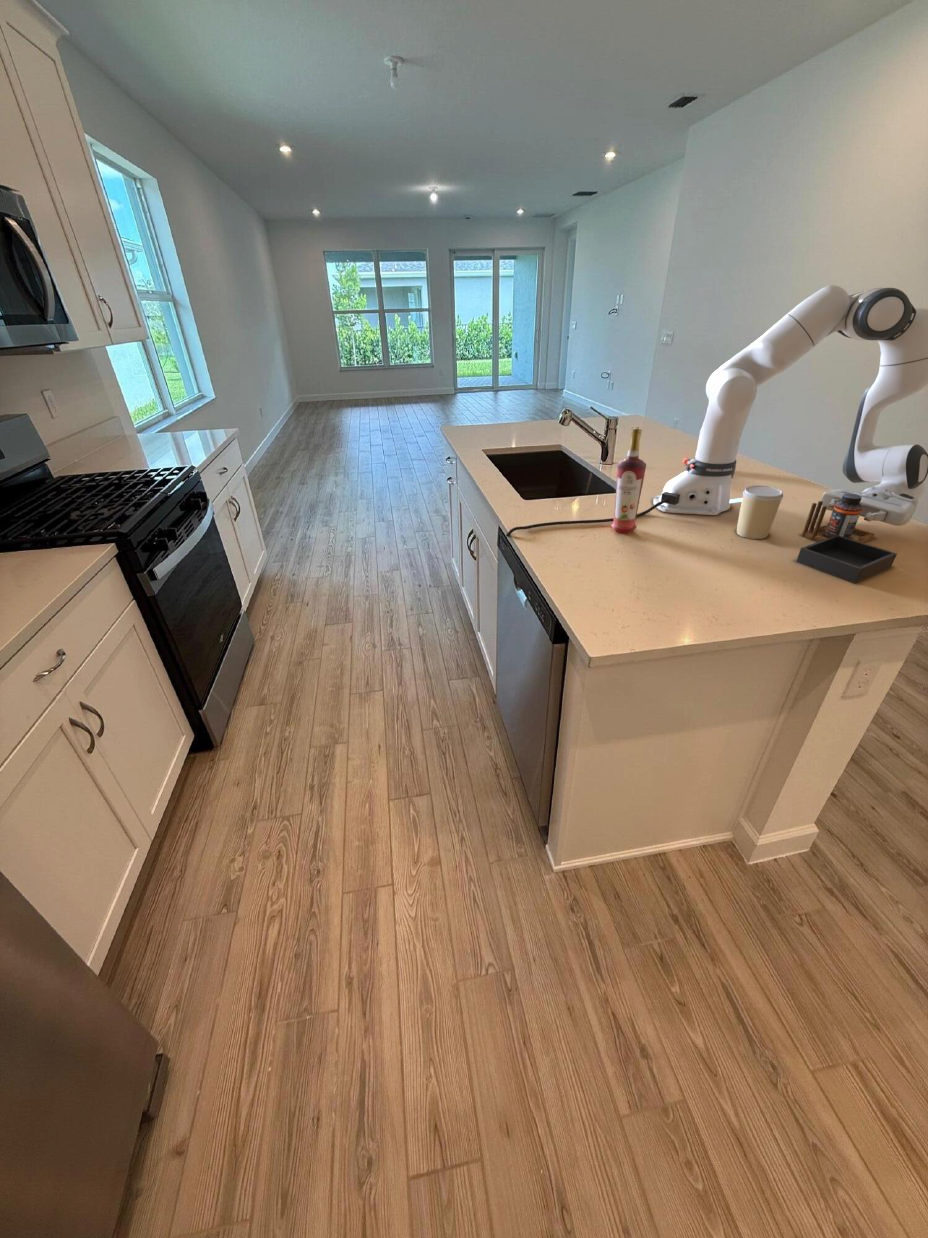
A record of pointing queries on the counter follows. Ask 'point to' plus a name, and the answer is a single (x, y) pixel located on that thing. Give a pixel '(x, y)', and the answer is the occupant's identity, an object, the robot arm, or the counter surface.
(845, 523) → the supplement bottle
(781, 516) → the counter surface
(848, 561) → the tray
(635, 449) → the liquor
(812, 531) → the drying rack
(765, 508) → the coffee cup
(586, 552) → the counter surface
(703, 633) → the counter surface
